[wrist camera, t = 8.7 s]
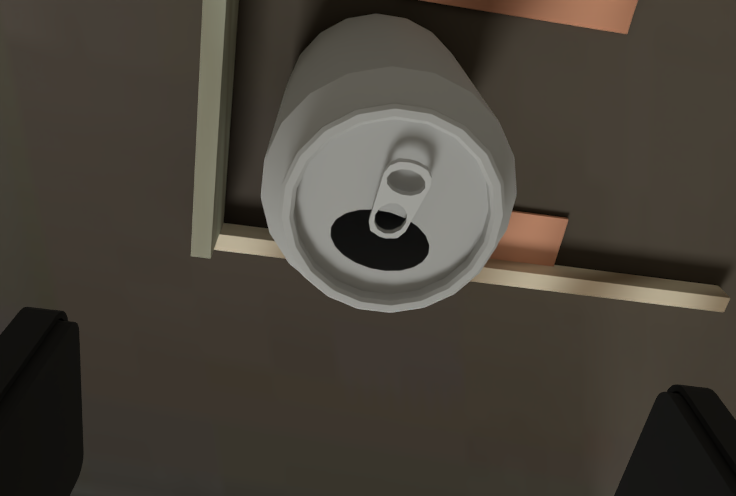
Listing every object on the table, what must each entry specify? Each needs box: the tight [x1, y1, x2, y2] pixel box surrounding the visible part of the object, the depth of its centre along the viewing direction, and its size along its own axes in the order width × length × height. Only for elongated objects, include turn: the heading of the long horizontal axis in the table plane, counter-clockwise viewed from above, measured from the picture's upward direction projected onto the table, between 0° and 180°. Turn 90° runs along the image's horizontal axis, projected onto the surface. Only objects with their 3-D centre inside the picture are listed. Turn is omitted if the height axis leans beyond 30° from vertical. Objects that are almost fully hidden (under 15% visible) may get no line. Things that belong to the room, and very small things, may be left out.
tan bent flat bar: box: [191, 0, 730, 312], centre depth 28 cm, size 25×15×4 cm, turn 81°
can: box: [261, 13, 517, 313], centre depth 24 cm, size 8×8×12 cm
